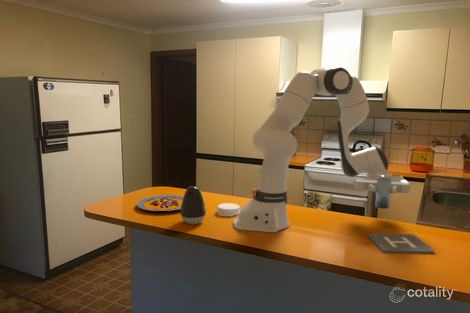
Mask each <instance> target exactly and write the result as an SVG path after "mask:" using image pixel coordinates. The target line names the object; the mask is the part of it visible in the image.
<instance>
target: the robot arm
mask: <svg viewBox="0 0 470 313" xmlns="http://www.w3.org/2000/svg"><path fill="white" fill-rule="evenodd" d="M315 96H325V97H330V96H334V97H336V99H337V101H338V105H339V108H340V117H339V119H338V120H337V122H336V129H337V140H338V146H339V152H340V168H341V171H342V172H343V174H344V175H345V176H347V177H350V178H354V177H356V176H357V177H356V179H355V180H353V181H352V182H353V184H354V189H355V190H356V191H364V192H365V191H367V192H369V191H370V192H372V193H375V194H376V192H377V175H378V174H386V175H391V176H392V181H391V193H390V194H396V193H397V194H408V195H409V194H410V193H411V189H412V188H411V183H410V182H409V181H408V180H407V179H405V178H404V176H403V175H398V174H392V173H389V172H387V171H388V169H389V162H388V159H387V155H386V154H385V153H384V151H383V149H382V148H380V147H378V146H372V147H367V148H365V149H362V150H358V151H355V152H351V151H350V145H349V144H350V143H349V136H350V135H349V134H350V133H351V132H352V131H353V130H354V129H355V128H357V127H358V126H359V125H361V124H362V123H363V122H364V121H365V120H366V119H367V117H368V116H369V114H370V106H369V105H370V104H369V101H368V97H367V94H366V92H365V89H364V88H363V86H362V83H361V82H360V80H359V78H358V77H357V76H354V75H351V73H350V72H349V71H348V70H347V69H346V68H343V67H341V66H333V67H329V66H328V67H327V66H326V67H322V68H318V69H314V70H313V71H311V72H309V71H305V70H302V71H299V72H297V73H296V74H295V75H294V76H293V78H292V79H291V80H290V82H289V83H288V85H287V87H286V88H285V90H284V91H283V94H282V96H281V97H280V100H279V101H278V103H277V105H276V107H275V108H274V109H273V112H272V113H270V115H269V116H268V117H267V119H266V120H265V122H264V123H263V124H262V126H261V127H260V128H258V129H257V130H256V131H255V132H253V136H252V143H253V146H254V147H255V148H256V150H258V152H260V153H262V154H264V157H263V160H262V165H261V167H260V168H259V171H258V188H252V190H251V193H252V195H253V196H252V197H253V198H252V199H251V200H250V201H248V202H247V203H245V204H244V205H242V207H240V213H239V214H238V215H237V216H236V217H234V219H233V227H234V228H235V229H237V230H241V231H252V232H253V231H254V232H262V233H264V232H266V233H277V232H279V231H280V230H284V229H287V228H289V227H290V222H289V218H288V210H287V204H288V195H289V193H288V190H287V184H288V183H287V182H288V170H289V166H290V162H291V159H292V157H293V156H294V154H296V152H297V150H298V141H297V138H296V136H295V135H293V134H292V133H291V131H292V130H293V129H294V128H295V127H296V126H298V125H299V124H300V123H301V122H302V120H303V118H304V116H305V115H306V111H307V110H308V108H309V107H310V105H311V103H312V100H313V98H314V97H315ZM362 174H366V178H365V177H358V176H359V175H362Z"/></svg>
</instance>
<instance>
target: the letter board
mask: <svg viewBox="0 0 470 313" xmlns="http://www.w3.org/2000/svg"><path fill="white" fill-rule="evenodd" d="M367 237H368V238H369V239H370V240H371V241H372V243H374V244H375V246H376V247H377V248H378V249H379V250H380V251H381V253H383V254H385V253H386V254H433V255H434V254H435V253H436V251H435V250H434V249H433V248H431V247H430V246H429V245H427V244H426V243H425V242H424V241H423V240H421V239H420V238H419V237H418V236H416V235H415V234H411V233H410V234H405V233H404V234H403V233H401V234H400V233H399V234H398V233H395V234H394V233H368V234H367Z"/></svg>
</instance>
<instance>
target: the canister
mask: <svg viewBox="0 0 470 313" xmlns="http://www.w3.org/2000/svg"><path fill="white" fill-rule="evenodd" d="M391 181H392V176H391V175H386V174H378V175H377V192H376V193H375V202H374V203H375V205H374V206H375V208H378V209H390V206H391V205H390V204H391V194H392V193H391Z"/></svg>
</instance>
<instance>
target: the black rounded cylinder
mask: <svg viewBox="0 0 470 313" xmlns="http://www.w3.org/2000/svg"><path fill="white" fill-rule="evenodd" d="M183 196H184V197H183V200H182V204H181V209H180V216H181V219H182V221H183V222H184V223H186V224H188V223H189V224H188V225H197V224H196V223H198V224H200V223H202V222H203V220H204V219H205V216H206V213H207V212H206V206H205V200H204V197H203V195H202V192H201V190H200V189H199V187H198V186H195V185H191V186H188V187H187V189H186V190H185V192H184V194H183Z"/></svg>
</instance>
